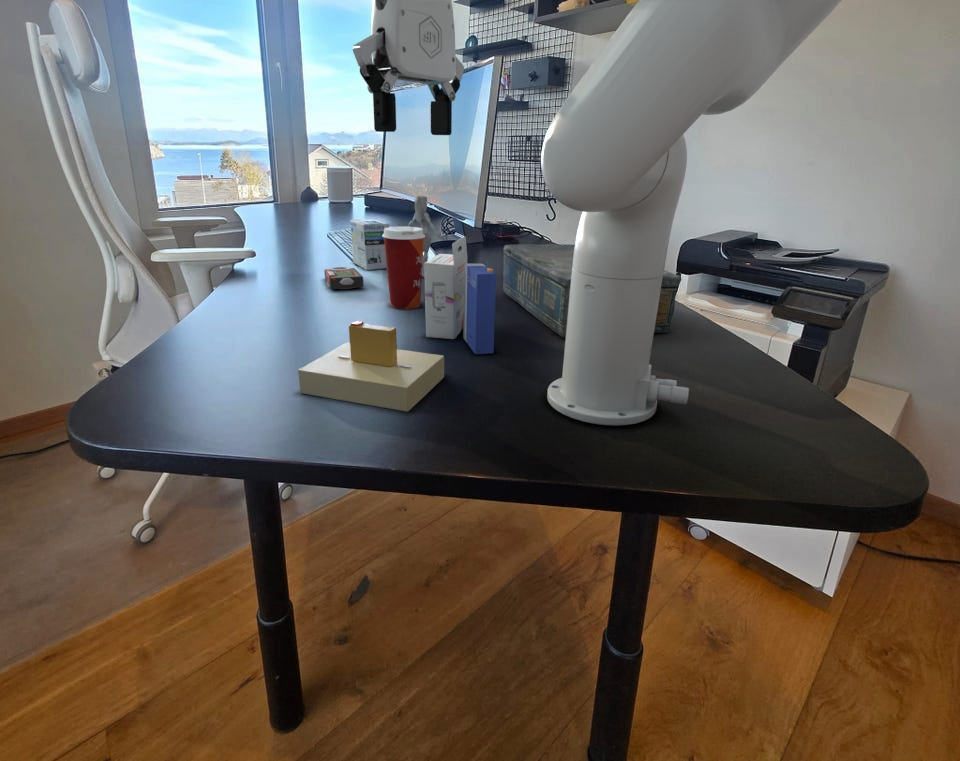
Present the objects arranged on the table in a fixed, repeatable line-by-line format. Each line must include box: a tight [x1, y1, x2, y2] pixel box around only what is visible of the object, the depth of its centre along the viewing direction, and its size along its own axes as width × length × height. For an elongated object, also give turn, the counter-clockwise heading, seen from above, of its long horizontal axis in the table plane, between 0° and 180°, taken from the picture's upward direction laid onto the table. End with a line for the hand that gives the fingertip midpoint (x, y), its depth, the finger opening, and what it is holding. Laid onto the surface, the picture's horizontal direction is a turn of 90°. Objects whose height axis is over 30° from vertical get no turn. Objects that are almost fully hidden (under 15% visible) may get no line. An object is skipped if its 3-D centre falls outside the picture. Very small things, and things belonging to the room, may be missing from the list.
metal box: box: [502, 243, 682, 339], centre depth 100 cm, size 21×32×10 cm, turn 15°
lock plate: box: [297, 341, 445, 413], centre depth 67 cm, size 14×11×3 cm
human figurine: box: [407, 194, 443, 279], centre depth 122 cm, size 12×4×18 cm, turn 49°
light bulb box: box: [349, 218, 391, 271], centre depth 135 cm, size 11×7×11 cm, turn 30°
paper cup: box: [382, 226, 425, 310], centre depth 100 cm, size 8×8×14 cm
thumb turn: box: [348, 320, 398, 367], centre depth 65 cm, size 6×2×5 cm, turn 72°
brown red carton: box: [323, 266, 364, 290], centre depth 118 cm, size 7×3×15 cm
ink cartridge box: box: [423, 235, 468, 340], centre depth 86 cm, size 9×5×15 cm, turn 168°
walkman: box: [462, 262, 497, 355], centre depth 80 cm, size 8×3×12 cm, turn 14°
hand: (414, 133), depth 68 cm, fingers open, 9 cm apart
